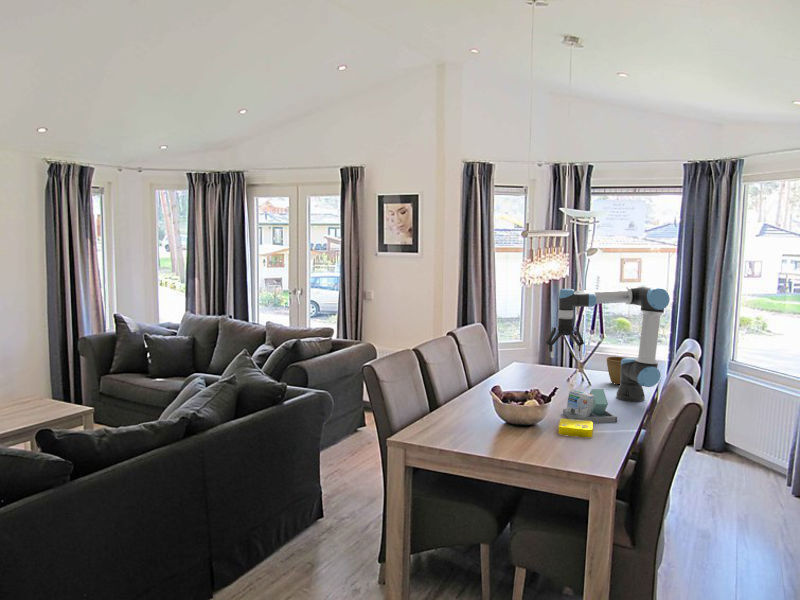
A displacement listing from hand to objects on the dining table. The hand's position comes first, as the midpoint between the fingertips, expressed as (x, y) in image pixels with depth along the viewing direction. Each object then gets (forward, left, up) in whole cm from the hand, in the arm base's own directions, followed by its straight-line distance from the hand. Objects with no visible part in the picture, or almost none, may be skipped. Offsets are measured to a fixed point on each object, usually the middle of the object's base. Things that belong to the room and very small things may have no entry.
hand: (564, 357), depth 323 cm
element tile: (+10, +43, -27) cm, 52 cm away
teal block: (-10, +23, -22) cm, 34 cm away
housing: (-4, +24, -27) cm, 36 cm away
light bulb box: (+1, +23, -24) cm, 33 cm away
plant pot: (-56, -51, -27) cm, 80 cm away
